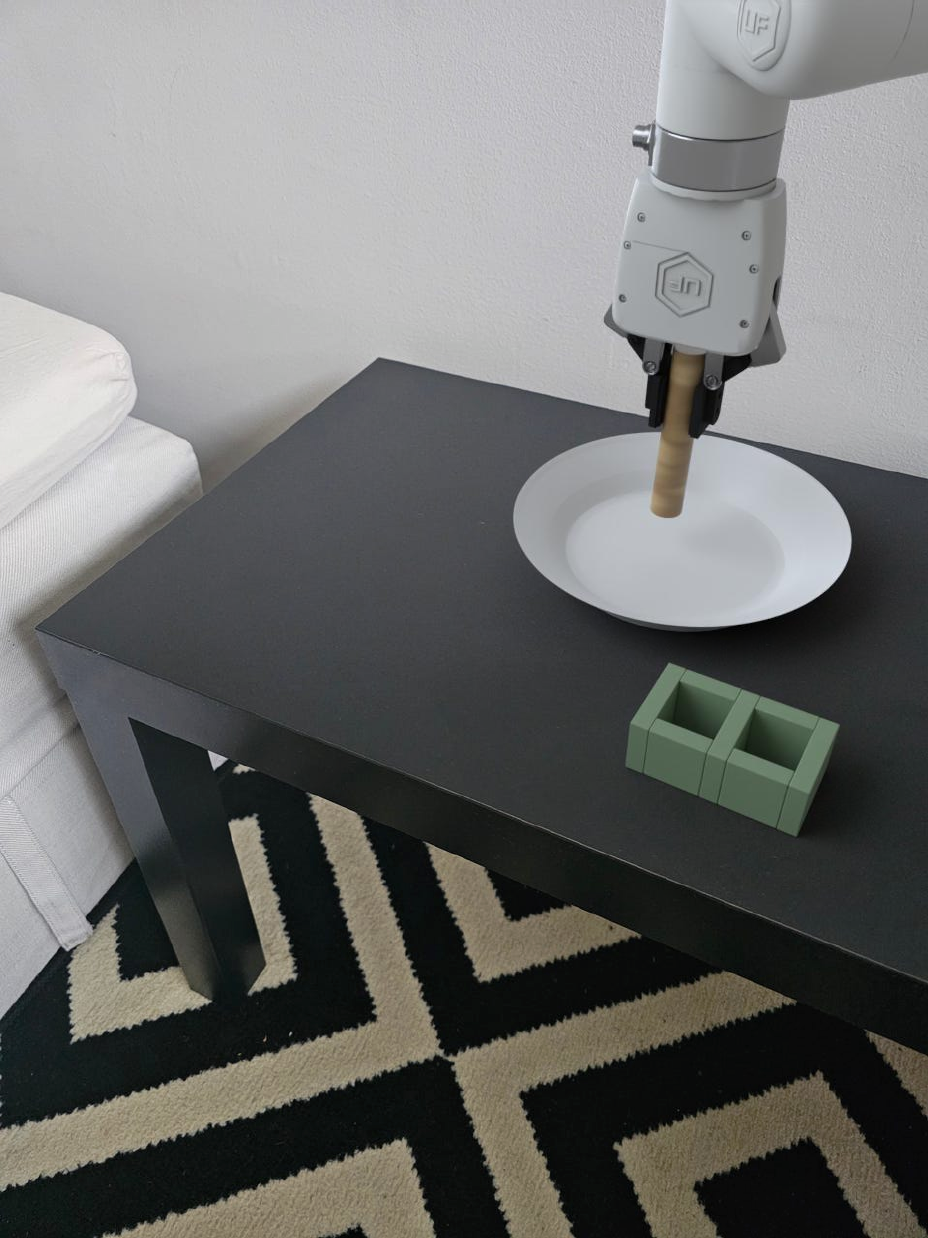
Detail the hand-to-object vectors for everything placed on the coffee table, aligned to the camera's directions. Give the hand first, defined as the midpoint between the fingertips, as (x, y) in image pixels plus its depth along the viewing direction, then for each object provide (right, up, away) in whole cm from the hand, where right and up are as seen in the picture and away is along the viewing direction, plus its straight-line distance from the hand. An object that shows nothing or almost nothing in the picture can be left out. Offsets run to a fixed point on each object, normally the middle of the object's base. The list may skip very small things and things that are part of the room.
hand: (680, 422), depth 72 cm
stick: (0, -6, +4) cm, 7 cm away
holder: (+1, -23, -10) cm, 25 cm away
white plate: (+1, -9, +6) cm, 11 cm away
